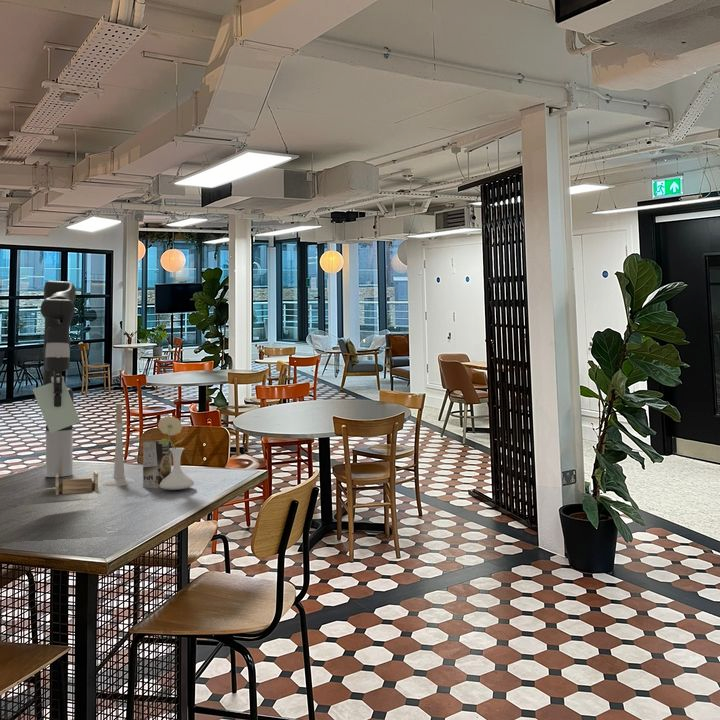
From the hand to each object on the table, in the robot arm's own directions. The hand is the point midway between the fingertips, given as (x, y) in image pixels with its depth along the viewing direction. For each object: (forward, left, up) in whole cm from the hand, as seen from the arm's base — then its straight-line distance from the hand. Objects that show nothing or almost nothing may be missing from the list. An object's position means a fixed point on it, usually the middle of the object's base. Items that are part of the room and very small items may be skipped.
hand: (57, 406), depth 215 cm
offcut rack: (+3, +6, -29) cm, 30 cm away
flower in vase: (+19, +36, -29) cm, 50 cm away
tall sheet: (0, +2, -7) cm, 8 cm away
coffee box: (+7, +32, -29) cm, 44 cm away
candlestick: (-4, +20, -29) cm, 36 cm away
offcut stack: (+5, +6, -29) cm, 30 cm away
